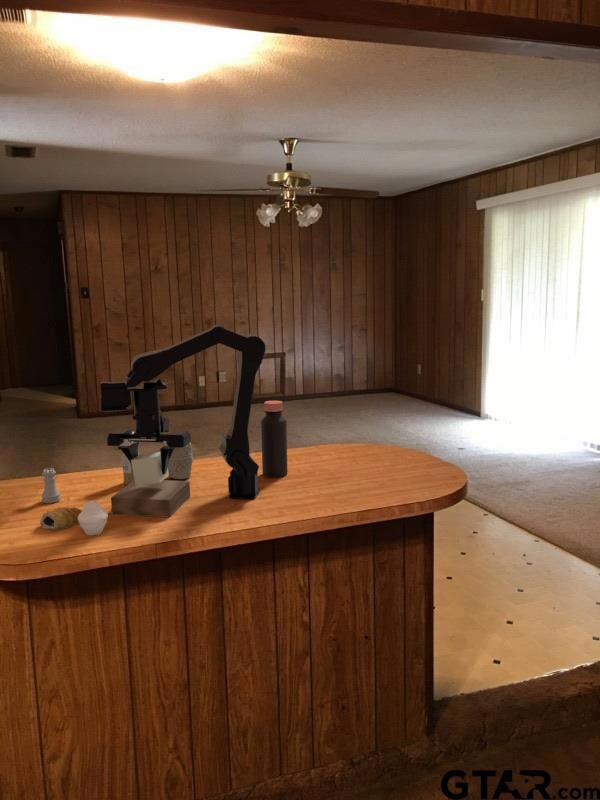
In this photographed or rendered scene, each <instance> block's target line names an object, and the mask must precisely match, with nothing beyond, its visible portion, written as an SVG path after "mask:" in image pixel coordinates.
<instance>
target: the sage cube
mask: <svg viewBox="0 0 600 800" xmlns="http://www.w3.org/2000/svg"><path fill="white" fill-rule="evenodd" d="M131 463H132V469H133V474H134V479H135V484H136V485H142V484H152V483H160V482H161V481H163V480H166V479H167V478H169V477H168V476H169V472H168V468H167V471H166V474H164V475H163V473H162V467H161V453H160V451H153V452H143V453H140V454H139V455H138V456H137V457H135V458H134V459H132V460H131Z"/></svg>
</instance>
